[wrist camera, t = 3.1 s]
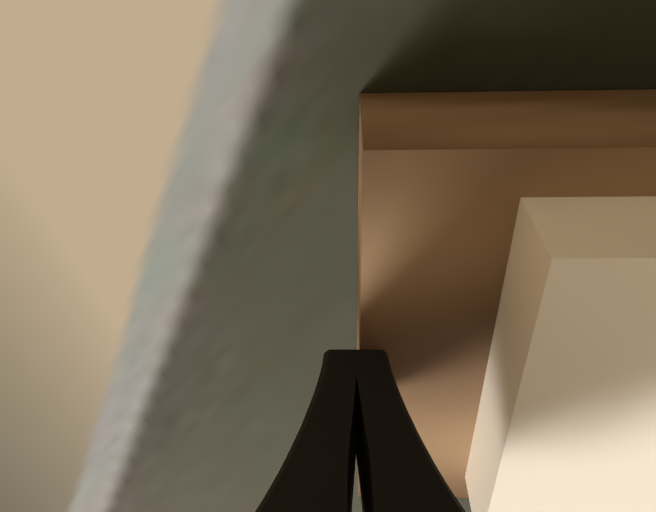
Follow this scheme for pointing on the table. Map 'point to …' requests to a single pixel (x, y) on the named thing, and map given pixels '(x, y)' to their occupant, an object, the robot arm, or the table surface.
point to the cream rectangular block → (572, 363)
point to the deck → (471, 226)
